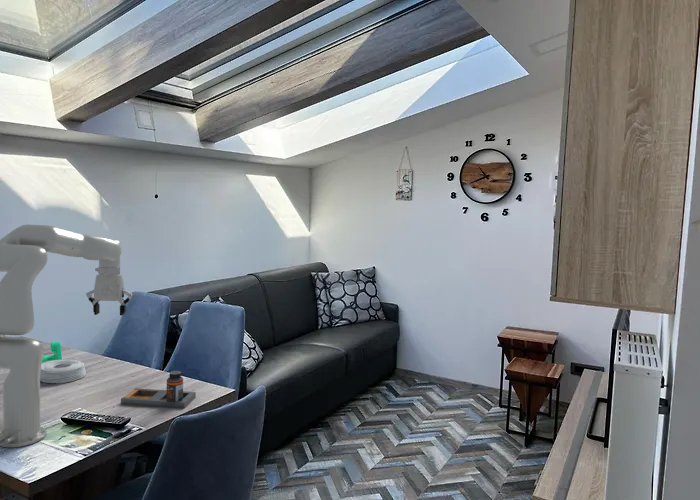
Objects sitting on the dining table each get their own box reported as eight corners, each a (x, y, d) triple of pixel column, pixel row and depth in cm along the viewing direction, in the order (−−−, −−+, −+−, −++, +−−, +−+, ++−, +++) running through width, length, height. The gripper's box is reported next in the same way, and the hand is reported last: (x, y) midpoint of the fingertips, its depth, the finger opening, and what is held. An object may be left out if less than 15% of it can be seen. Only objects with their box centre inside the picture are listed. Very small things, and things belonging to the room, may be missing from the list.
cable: (35, 375, 211) (35, 361, 210) (81, 368, 221) (81, 355, 221) (40, 387, 197) (40, 373, 196) (89, 380, 208) (89, 366, 207)
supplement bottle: (162, 402, 186) (163, 372, 186) (175, 397, 192) (175, 368, 191) (174, 405, 184) (174, 375, 183) (186, 400, 189) (186, 371, 188)
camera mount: (38, 362, 227) (38, 340, 227) (57, 359, 232) (57, 338, 231) (42, 369, 218) (41, 346, 217) (62, 366, 223) (61, 344, 222)
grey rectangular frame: (184, 408, 182) (184, 402, 182) (120, 404, 183) (120, 398, 183) (195, 397, 193) (195, 392, 193) (135, 393, 194) (135, 388, 194)
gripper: (82, 271, 190) (82, 316, 191) (128, 273, 191) (128, 317, 193) (90, 269, 197) (91, 312, 199) (135, 270, 199) (135, 312, 200)
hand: (109, 314), depth 196 cm, fingers open, 9 cm apart
